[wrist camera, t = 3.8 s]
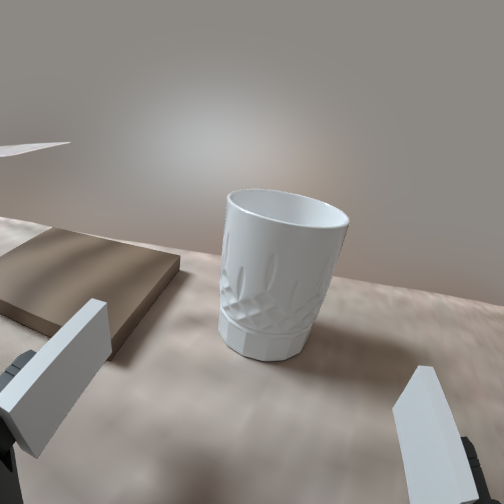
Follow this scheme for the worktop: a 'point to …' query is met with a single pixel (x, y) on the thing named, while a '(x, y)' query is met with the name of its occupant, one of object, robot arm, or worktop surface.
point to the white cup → (275, 270)
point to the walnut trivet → (82, 281)
